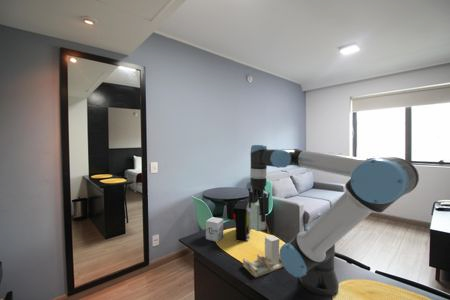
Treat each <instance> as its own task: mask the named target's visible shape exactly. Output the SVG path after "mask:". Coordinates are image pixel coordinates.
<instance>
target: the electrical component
mask: <svg viewBox="0 0 450 300" xmlns="http://www.w3.org/2000/svg"><path fill="white" fill-rule="evenodd" d="M233 209H234V210H233V214H232V218H233V221H234V222H235V241H237V240H239V241H240V242H247V241H248V240H250V238H251V235H250V233H251V232H250V231H251V230H252V228H251V208H249V200H237V202H236V204H235V206H234V207H233ZM239 241H238V242H239Z"/></svg>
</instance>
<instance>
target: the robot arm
mask: <svg viewBox="0 0 450 300" xmlns="http://www.w3.org/2000/svg"><path fill="white" fill-rule="evenodd" d="M267 148H268V147H267V145H265V144H252V145H251V146H250V153H249V155H250V175H249V176H250V186H251V187H248V190H247V191H248V201H249V208H251V203H254V202H259V205H260V214H259V228H260V229H261V228H265V215H266V216H267V215H269V214H270V212H269V211H270V205H269V203H270V201H269V199H270V192H267V191H266V186H267V168H268V167H273V168H274V167H275V168H283V169H284V168H287V167H288V166H289V167H290V166H295V167H300V168H305V169H309V170H310V169H311V170H314V171H315V170H316V171H320V172H325V173H330V174H335V175H339V176H344V177H347V178H350V179H349V180H348V181H347V182H346V183H345V186H344V187H345V192H344V193H343V194H342V195H341V196H340V197H339V198H338V199H337V200H336V201H335V202H334V203H333V204H332V205H331V206H330V207H329V208H328V209H327V210H326V211H325V212H324V213H323V214H322V215H321V216H320V217H319V218H318V219H317V220H316V221H315V222H314V223H313V225H311V226H308V227H306V228H304V230H302V231H299V232H298V233H296V235H295V236H294V237H293V238H292V239H291V240H290V241H289V242H286V243H284V244H282V245H281V246H280V247H279V254H280V259H281V262H282V264H283V266H284V267H283V268H284V269H285V270H286V271H287V272H288V273H289V275H291V276H293V277H295V278H299V282H300V283H301V285H302V287H303V288H305V289H306V290H307V291H309V292H311V293H313V294H315V295H319V296H323V297H324V296H325V297H329V296H334V295H333V294H335V293H336V294H337V293H338V292H339V290H338V289H339V288H340V287H339V285H340V283H339V280H338V277H337V275H336V270H335V256H336V255H335V253H336V251H335V250H336V244H337V243H339V241H341V240H342V239H343V238H344V237H345V236H346V235H347V234H349V233H350V232H351V231H352V230H353V229H354V228H355V227H356V226H358V225H359V224H360V223H361V222H362V221H364V220H365V219H366V218H367V217H368V216H370V214H372V213H376V214H381V213H383V212H384V211H385V210H387V209H388V208H389V207H390V206H392V204H394V203H395V202H397V200H399V199H400V198H401V197H403V196H405V195H407V194H409V193H411V192H412V191H414V190H415V188H417V186H418V184H419V180H420V177H419V176H420V175H419V172H418V169H417V168H416V166H415V165H414V164H412V162H410V161H408V160H407V159H404V158H401V157H397V156H390V157H389V156H388V157H387V156H386V157H381V156H380V157H379V156H369V157H367V158H364V157H356V156H349V155H341V154H333V153H325V152H318V151H312V150H311V151H310V150H303V149H301V148H291V149H290V148H289V149H285V148H284V149H283V148H282V149H279V148H278V149H267ZM336 294H335V295H336Z"/></svg>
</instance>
